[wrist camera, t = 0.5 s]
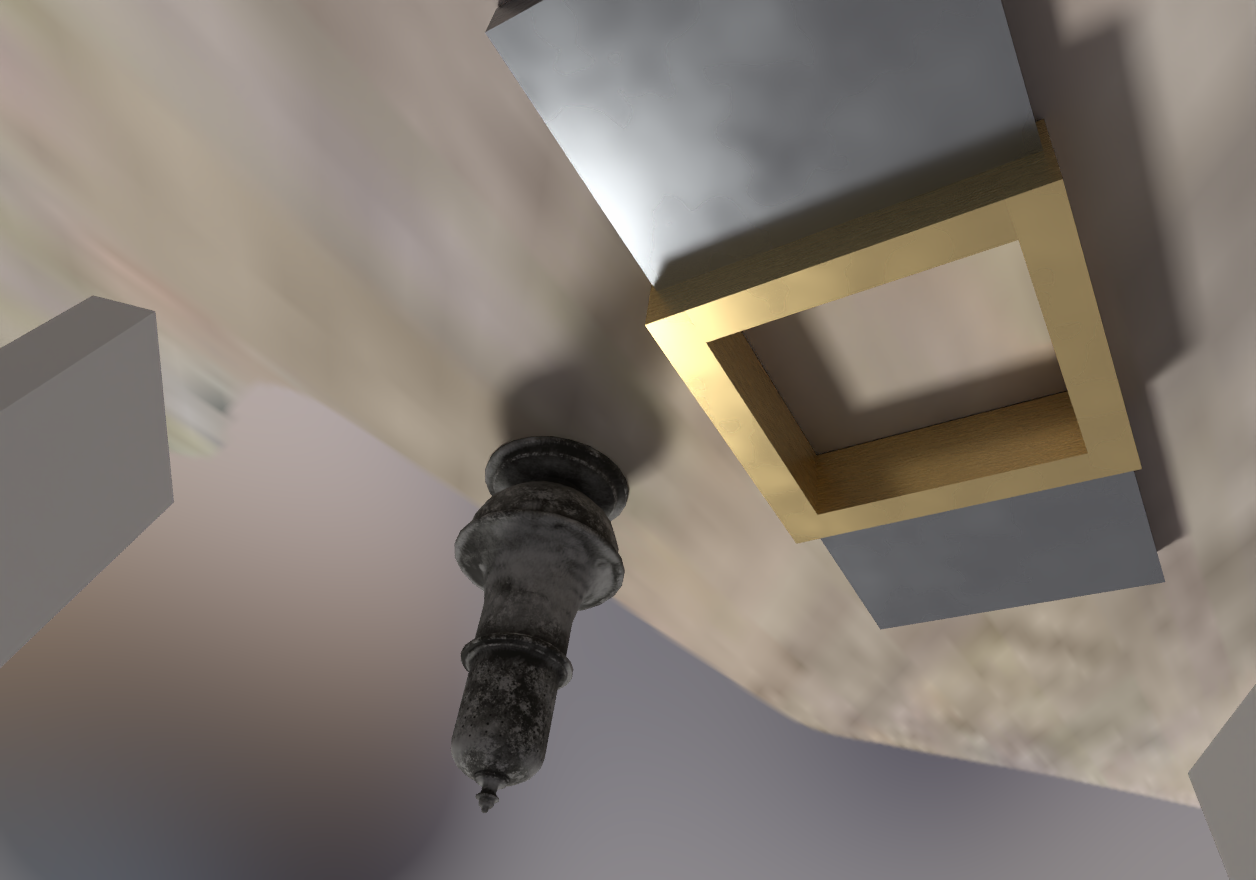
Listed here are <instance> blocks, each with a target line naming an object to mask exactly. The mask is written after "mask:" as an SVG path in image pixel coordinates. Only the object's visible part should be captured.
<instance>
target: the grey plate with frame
mask: <svg viewBox="0 0 1256 880" xmlns="http://www.w3.org/2000/svg"><path fill="white" fill-rule="evenodd" d="M485 33H486V34H487V36H488V38H489V39H490V41H491V42H492V44H493V45H494V47H495V48H496V50H497V51H498V53H499V54H500V56H501V57H502V59H503V60H504V62H505V63H506V65H507V66H508V68H509V69H510V71H511V72H512V74H513V75H514V77H515V78H516V80H517V81H518V83H519V84H520V86H521V87H522V89H523V90H524V92H525V93H526V95H527V96H528V98H529V99H530V101H531V102H532V104H533V105H534V107H535V108H536V110H537V111H538V113H539V114H540V116H541V118H542V119H543V121H544V122H545V124H546V125H547V127H548V128H549V130H550V131H551V133H552V134H553V136H554V137H555V139H556V140H557V142H558V143H559V145H560V146H561V148H562V149H563V151H564V152H565V154H566V155H567V157H568V158H569V160H570V161H571V163H572V164H573V166H574V167H575V169H576V170H577V172H578V173H579V175H580V176H581V178H582V179H583V181H584V182H585V184H586V185H587V187H588V188H589V190H590V191H591V193H592V195H593V196H594V198H595V199H596V201H597V202H598V204H599V205H600V207H601V208H602V210H603V211H604V213H605V214H606V216H607V217H608V219H609V220H610V222H611V223H612V225H613V226H614V228H615V229H616V231H617V232H618V234H619V235H620V237H621V238H622V240H623V241H624V243H625V244H626V246H627V247H628V249H629V250H630V252H631V253H632V255H633V256H634V258H635V259H636V261H637V262H638V264H639V265H640V267H641V268H642V270H643V271H644V273H645V275H646V276H647V278H648V279H649V281H650V282H651V284H652V286H651V292H650V298H649V304H648V310H647V316H646V322H645V326H646V327H647V329H648V330H649V332H650V333H651V335H652V336H653V337H654V339H655V340H656V342H657V343H658V345H659V346H660V347H661V349H662V350H663V352H664V353H665V355H666V356H667V358H668V359H669V360H670V362H671V363H672V365H673V366H674V368H675V369H676V371H677V372H678V373H679V375H680V376H681V378H682V379H683V381H684V382H685V384H686V385H687V386H688V388H689V389H690V391H691V392H692V394H693V395H694V397H695V398H696V399H697V401H698V402H699V404H700V405H701V407H702V408H703V409H704V411H705V412H706V414H707V415H708V417H709V418H710V420H711V421H712V422H713V424H714V425H715V427H716V428H717V430H718V431H719V433H720V434H721V435H722V437H723V438H724V440H725V441H726V443H727V444H728V446H729V447H730V448H731V450H732V451H733V453H734V454H735V456H736V457H737V458H738V460H739V461H740V463H741V464H742V466H743V467H744V469H745V470H746V471H747V473H748V474H749V476H750V477H751V479H752V480H753V482H754V483H755V484H756V486H757V487H758V489H759V490H760V492H761V493H762V495H763V496H764V497H765V499H766V500H767V502H768V503H769V505H770V506H771V507H772V509H773V510H774V512H775V513H776V515H777V516H778V518H779V519H780V520H781V522H782V523H783V525H784V526H785V528H786V529H787V531H788V532H789V533H790V535H791V536H792V538H793V539H794V541H795V542H796V544H797V543H801V542H806V541H811V540H815V539H821V540H822V542H823V543H824V545H825V546H826V548H827V549H828V551H829V552H830V554H831V555H832V557H833V558H834V560H835V561H836V563H837V564H838V566H839V567H840V569H841V570H842V572H843V573H844V575H845V576H846V578H847V579H848V581H849V582H850V584H851V585H852V587H853V588H854V590H855V591H856V593H857V595H858V596H859V598H860V599H861V601H862V602H863V604H864V605H865V607H866V608H867V610H868V611H869V613H870V614H871V616H872V617H873V619H874V620H875V622H876V623H877V625H878V626H879V628H880V629H886V628H892V627H898V626H904V625H910V624H916V623H922V622H928V621H934V620H940V619H946V618H952V617H958V616H964V615H970V614H976V613H982V612H988V611H994V610H1000V609H1006V608H1012V607H1018V606H1024V605H1030V604H1036V603H1042V602H1048V601H1054V600H1060V599H1066V598H1072V597H1078V596H1084V595H1090V594H1096V593H1102V592H1108V591H1114V590H1120V589H1126V588H1132V587H1138V586H1144V585H1150V584H1156V583H1162V582H1165V579H1164V576H1163V572H1162V569H1161V565H1160V562H1159V558H1158V555H1157V551H1156V548H1155V544H1154V540H1153V537H1152V533H1151V530H1150V526H1149V523H1148V519H1147V516H1146V512H1145V509H1144V505H1143V502H1142V498H1141V494H1140V491H1139V487H1138V484H1137V480H1136V477H1135V473H1134V471H1135V470H1140V469H1142V467H1141V463H1140V460H1139V456H1138V452H1137V449H1136V445H1135V441H1134V438H1133V434H1132V430H1131V427H1130V423H1129V419H1128V416H1127V412H1126V408H1125V405H1124V401H1123V397H1122V394H1121V390H1120V386H1119V383H1118V379H1117V376H1116V372H1115V368H1114V365H1113V361H1112V357H1111V354H1110V350H1109V346H1108V343H1107V339H1106V335H1105V332H1104V328H1103V324H1102V321H1101V317H1100V313H1099V310H1098V306H1097V302H1096V299H1095V295H1094V291H1093V288H1092V284H1091V280H1090V277H1089V273H1088V269H1087V266H1086V262H1085V258H1084V255H1083V251H1082V247H1081V244H1080V240H1079V237H1078V233H1077V229H1076V226H1075V222H1074V218H1073V215H1072V211H1071V207H1070V204H1069V200H1068V196H1067V193H1066V189H1065V185H1064V182H1063V178H1062V175H1061V172H1060V169H1059V166H1058V162H1057V159H1056V156H1055V153H1054V150H1053V147H1052V143H1051V140H1050V137H1049V134H1048V131H1047V128H1046V125H1045V121H1044V119H1042V120H1040V121H1037V122H1035V119H1034V116H1033V112H1032V109H1031V105H1030V102H1029V98H1028V95H1027V91H1026V88H1025V84H1024V81H1023V77H1022V73H1021V70H1020V66H1019V63H1018V59H1017V56H1016V52H1015V49H1014V45H1013V42H1012V38H1011V35H1010V31H1009V27H1008V24H1007V20H1006V17H1005V13H1004V10H1003V6H1002V3H1001V0H511V1H509V2H507V3H505V4H504V5H502V6H500V7H498V8H497V9H496V11H495V13H494V15H493V17H492V19H491V21H490V23H489V25H488V28H487V30H486V32H485ZM1016 240H1019V243H1020V246H1021V249H1022V252H1023V255H1024V258H1025V261H1026V264H1027V267H1028V270H1029V274H1030V277H1031V280H1032V283H1033V286H1034V289H1035V292H1036V295H1037V298H1038V301H1039V304H1040V307H1041V310H1042V313H1043V317H1044V320H1045V323H1046V326H1047V329H1048V332H1049V335H1050V338H1051V341H1052V344H1053V347H1054V350H1055V353H1056V357H1057V360H1058V363H1059V366H1060V369H1061V372H1062V375H1063V378H1064V381H1065V384H1066V387H1067V390H1068V391H1067V392H1063V393H1059V394H1055V395H1051V396H1047V397H1044V398H1040V399H1036V400H1032V401H1028V402H1024V403H1020V404H1016V405H1012V406H1008V407H1005V408H1001V409H997V410H993V411H989V412H985V413H981V414H977V415H973V416H969V417H966V418H962V419H958V420H954V421H950V422H946V423H942V424H938V425H934V426H930V427H927V428H923V429H919V430H915V431H911V432H907V433H903V434H899V435H895V436H891V437H888V438H884V439H880V440H876V441H872V442H868V443H864V444H860V445H856V446H852V447H849V448H845V449H841V450H837V451H833V452H829V453H825V454H821V455H816V454H815V452H814V450H813V449H812V447H811V445H810V444H809V442H808V440H807V439H806V437H805V436H804V434H803V432H802V431H801V429H800V427H799V426H798V424H797V422H796V421H795V419H794V417H793V416H792V414H791V413H790V411H789V409H788V408H787V406H786V404H785V403H784V401H783V399H782V398H781V396H780V394H779V393H778V391H777V390H776V388H775V386H774V385H773V383H772V381H771V380H770V378H769V376H768V375H767V373H766V371H765V370H764V368H763V367H762V365H761V363H760V362H759V360H758V358H757V357H756V355H755V353H754V352H753V350H752V348H751V347H750V345H749V344H748V342H747V340H746V339H745V337H744V335H743V334H742V332H741V331H743V330H746V329H749V328H752V327H755V326H758V325H761V324H764V323H767V322H770V321H773V320H776V319H779V318H782V317H785V316H788V315H791V314H794V313H797V312H800V311H803V310H807V309H810V308H813V307H816V306H819V305H822V304H825V303H828V302H831V301H834V300H837V299H840V298H843V297H846V296H849V295H852V294H855V293H858V292H861V291H864V290H867V289H870V288H873V287H876V286H879V285H882V284H885V283H888V282H891V281H895V280H898V279H901V278H904V277H907V276H910V275H913V274H916V273H919V272H922V271H925V270H928V269H931V268H934V267H937V266H940V265H943V264H946V263H949V262H952V261H955V260H958V259H961V258H964V257H967V256H970V255H973V254H976V253H979V252H983V251H986V250H989V249H992V248H995V247H998V246H1001V245H1004V244H1007V243H1010V242H1013V241H1016Z"/></svg>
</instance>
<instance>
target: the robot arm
mask: <svg viewBox="0 0 1256 880" xmlns="http://www.w3.org/2000/svg"><path fill="white" fill-rule="evenodd" d="M173 502H174V500H173V489H172V479H171V468H170V457H169V447H168V437H167V427H166V416H165V406H164V396H163V385H162V375H161V365H160V354H159V344H158V334H157V324H156V313H155V311H152V310H148V309H144V308H140V307H137V306H133V305H129V304H125V303H121V302H117V301H113V300H109V299H105V298H101V297H97V296H91V297H89V298H88V299H86V300H84V301H82V302H81V303H79V304H77V305H75V306H74V307H72V308H70V309H68V310H67V311H65V312H63V313H61V314H60V315H58V316H56V317H54V318H53V319H51V320H49V321H47V322H46V323H44V324H42V325H40V326H39V327H37V328H35V329H33V330H32V331H30V332H28V333H26V334H25V335H23V336H21V337H19V338H18V339H16V340H14V341H12V342H11V343H9V344H7V345H5V346H4V347H2V348H0V668H1V667H2V666H3V665H4V664H5V663H6V662H7V661H8V660H9V659H10V658H11V657H12V656H13V655H14V654H15V653H16V652H17V651H18V650H19V649H21V648H22V646H24V645H25V644H26V643H27V642H28V641H29V640H30V639H31V638H32V637H33V636H34V635H35V634H36V633H37V632H38V631H39V630H40V629H41V628H43V627H44V626H45V625H46V624H47V623H48V622H49V621H50V620H51V619H52V618H53V617H54V616H55V615H56V614H57V613H58V612H59V611H60V610H61V609H62V608H63V607H65V606H66V605H67V604H68V603H69V602H70V601H71V600H72V599H73V598H74V597H75V596H76V595H77V594H78V593H79V592H80V591H81V590H82V589H83V588H84V587H85V586H87V585H88V583H90V582H91V581H92V580H93V579H94V578H95V577H96V576H97V575H98V574H99V573H100V572H101V571H102V570H103V569H104V568H105V567H106V566H108V565H109V564H110V563H111V562H112V561H113V560H114V559H115V558H116V557H117V556H118V555H119V554H120V553H121V552H122V551H123V550H124V549H125V548H126V547H127V546H128V545H130V544H131V543H132V542H133V541H134V540H135V539H136V538H137V537H138V536H139V535H140V534H141V533H142V532H143V531H144V530H145V529H146V528H147V527H148V526H149V525H150V524H151V523H152V522H153V521H155V520H156V519H157V518H158V517H159V516H160V515H161V514H162V513H163V512H164V511H165V510H166V509H167V508H168V507H169V506H170V505H171V504H172V503H173ZM1188 775H1189V778H1190V780H1191V783H1192V785H1193V788H1194V790H1195V793H1196V796H1197V798H1198V801H1199V803H1200V806H1201V808H1202V811H1203V813H1204V816H1205V818H1206V821H1207V823H1208V826H1209V829H1210V831H1211V834H1212V836H1213V839H1214V841H1215V844H1216V846H1217V849H1218V852H1219V854H1220V857H1221V859H1222V862H1223V864H1224V867H1225V870H1226V872H1227V874H1228V877H1229V880H1256V684H1255V686H1254V687H1253V688H1252V690H1251V691H1250V692H1249V693H1248V695H1247V696H1246V697H1245V699H1244V700H1243V701H1242V703H1241V704H1240V705H1239V707H1238V708H1237V709H1236V711H1235V712H1234V713H1233V714H1232V716H1231V717H1230V718H1229V720H1228V721H1227V722H1226V724H1225V725H1224V726H1223V728H1222V729H1221V730H1220V732H1219V733H1218V734H1217V736H1216V737H1215V738H1214V739H1213V741H1212V742H1211V743H1210V745H1209V746H1208V747H1207V749H1206V750H1205V751H1204V753H1203V754H1202V755H1201V757H1200V758H1199V759H1198V760H1197V762H1196V763H1195V764H1194V766H1193V767H1192V768H1191V770H1190V771H1189V772H1188Z"/></svg>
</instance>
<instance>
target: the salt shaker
mask: <svg viewBox="0 0 1256 880" xmlns="http://www.w3.org/2000/svg"><path fill="white" fill-rule="evenodd" d="M485 482H486V484H487V487H488V489H489V492H490V494H491V495H492V497H491V498H490V499H489V500H487V502H486V503H485V504H484V505H483V506H482V507H481V508H480V509H479V510H478V512H477V513H476V514H475V516H474V518H473V520H472V521H471V522H470V523H469V524H468V525H467V526H465V527H464V528H463V529H462V530H461V531H460V533H459V535H458V537H457V539H456V542H455V558H456V560H457V562H458V565H459V566H460V569H461V571H462V572H463V573H464V574H465V575H466V576H467V577H468V579H469V580H470V581H471V582H472V583H473V584H475V585H476V586H477V587H479V588H480V589H482V590H483V591H484V596H485V597H484V606H483V610H482V613H481V617H480V621H479V625H478V629H477V633H476V637H475V639H473V640H472V641H470V642H469V643H468V644H466V645H465V647H464V648H463V650H462V651H461V662H462V664H463V666H464V667H465V669H466V670H467V671H468V672H469V673H468V677H467V681H466V685H465V689H464V693H463V697H462V701H461V705H460V708H459V713H458V717H457V720H456V724H455V728H454V732H453V736H452V741H451V754H452V757H453V759H454V761H455V763H456V765H457V767H458V768H459V769H460V770H461V771H462V772H463V773H464V774H465V775H467V776H468V777H469V778H471V779H473V780H474V781H476V783H478V784H479V785H480V786H482V790H481V792H480V793H478V794H476V799H478V800H479V806H480V807H481V808H482V812H483V813H486V812H488V809H491V808H492V807H493V806H494V803H497V802H499V798H498V797H497V796H496V792H497V790H498V789H503V788H505V787H506V786H512V785H516V784H519V783H522V782H524V781H527V780H529V779H530V778H531V777H532V776H533V775H534V774H536V773H537V772H538V771H539V769H540V768H541V766H542V764H543V761H544V758H545V753H546V748H547V742H548V737H549V732H550V727H551V721H552V716H553V711H554V705H555V700H556V695H557V690H558V689H560V688H562V687H564V686H566V685H567V684H568V683H569V682H570V680H571V679H572V674H573V667H572V664H571V662H570V661H569V659H568V658H567V657H566V654H567V648H568V643H569V638H570V632H571V627H572V622H573V620H574V618H575V615H576V613H577V611H580V610H585V609H588V608H592V607H595V606H598V605H600V604H602V603H604V602H605V601H607V600H608V599H610V598H611V597H613V596H614V595H615V594H616V592H617V591H618V590H619V589H620V587H621V586H622V582H623V578H624V573H625V570H624V566H623V562H622V558H621V556H620V555H619V554H618V550H619V549H618V545H617V541H616V538H615V534H614V531H613V528H612V525H611V521H612V520H613V519H615V518H616V517H617V516H619V515H620V513H621V512H622V510H623V509H624V507H625V506H626V502H627V497H628V487H627V483H626V479H625V477H624V476H623V474H622V473H621V471H620V469H619V468H618V467H617V466H616V465H615V464H614V463H613V462H612V461H611V460H610V459H609V458H607V457H606V456H605V455H603V454H601V453H600V452H598V451H596V450H594V449H593V448H591V447H589V446H586V445H583V444H581V443H578V442H575V441H572V440H567V439H561V438H555V437H529V438H525V439H520V440H515V441H513V442H511V443H509V444H506V445H504V446H502V447H501V448H499V449H498V450H497V451H496V452H495V453H494V454H493V455H492V456H491V458H490V460H489V462H488V464H487V466H486V469H485Z"/></svg>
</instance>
